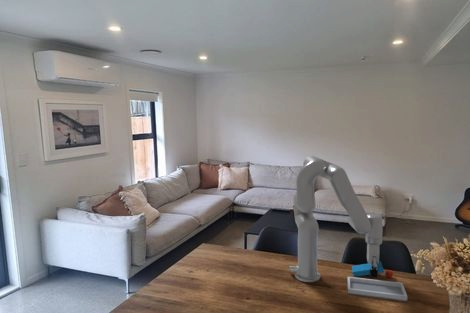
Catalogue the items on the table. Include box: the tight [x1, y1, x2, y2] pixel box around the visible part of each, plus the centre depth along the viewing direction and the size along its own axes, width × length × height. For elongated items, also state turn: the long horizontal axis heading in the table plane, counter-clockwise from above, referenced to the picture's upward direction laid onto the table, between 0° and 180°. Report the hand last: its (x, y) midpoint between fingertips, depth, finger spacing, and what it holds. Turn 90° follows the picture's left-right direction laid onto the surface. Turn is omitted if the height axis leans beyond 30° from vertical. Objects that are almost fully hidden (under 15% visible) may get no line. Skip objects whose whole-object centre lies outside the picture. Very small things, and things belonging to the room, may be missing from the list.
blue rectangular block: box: [351, 261, 394, 279], centre depth 165 cm, size 7×7×18 cm
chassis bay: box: [347, 276, 408, 303], centre depth 151 cm, size 24×12×2 cm, turn 73°
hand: (373, 273), depth 165 cm, fingers closed on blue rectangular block, 7 cm apart
